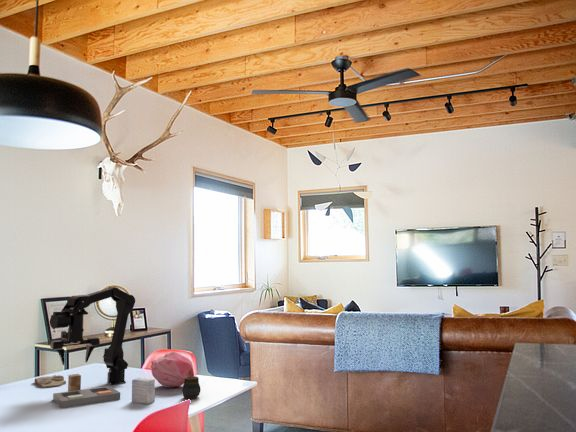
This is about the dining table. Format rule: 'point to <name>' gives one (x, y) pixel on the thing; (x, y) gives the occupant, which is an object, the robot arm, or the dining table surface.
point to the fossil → (50, 381)
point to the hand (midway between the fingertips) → (74, 363)
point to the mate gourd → (191, 387)
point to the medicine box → (143, 390)
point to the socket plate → (86, 396)
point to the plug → (74, 382)
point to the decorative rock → (171, 369)
